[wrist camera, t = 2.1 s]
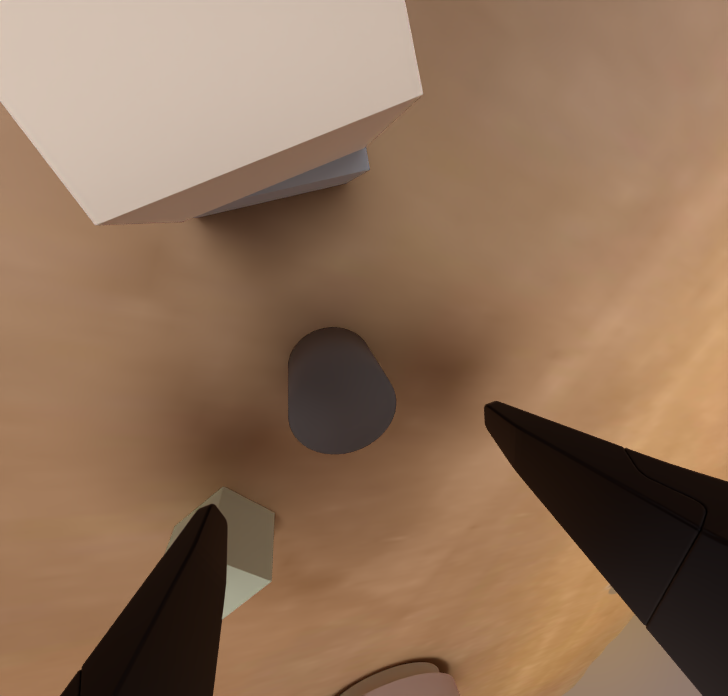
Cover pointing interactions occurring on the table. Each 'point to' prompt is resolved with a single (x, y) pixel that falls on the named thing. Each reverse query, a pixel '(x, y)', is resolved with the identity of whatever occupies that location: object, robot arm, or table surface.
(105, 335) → the table surface
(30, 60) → the tower top
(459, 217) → the table surface
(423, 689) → the container
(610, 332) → the table surface
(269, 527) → the sage block
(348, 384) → the dark grey cylinder
